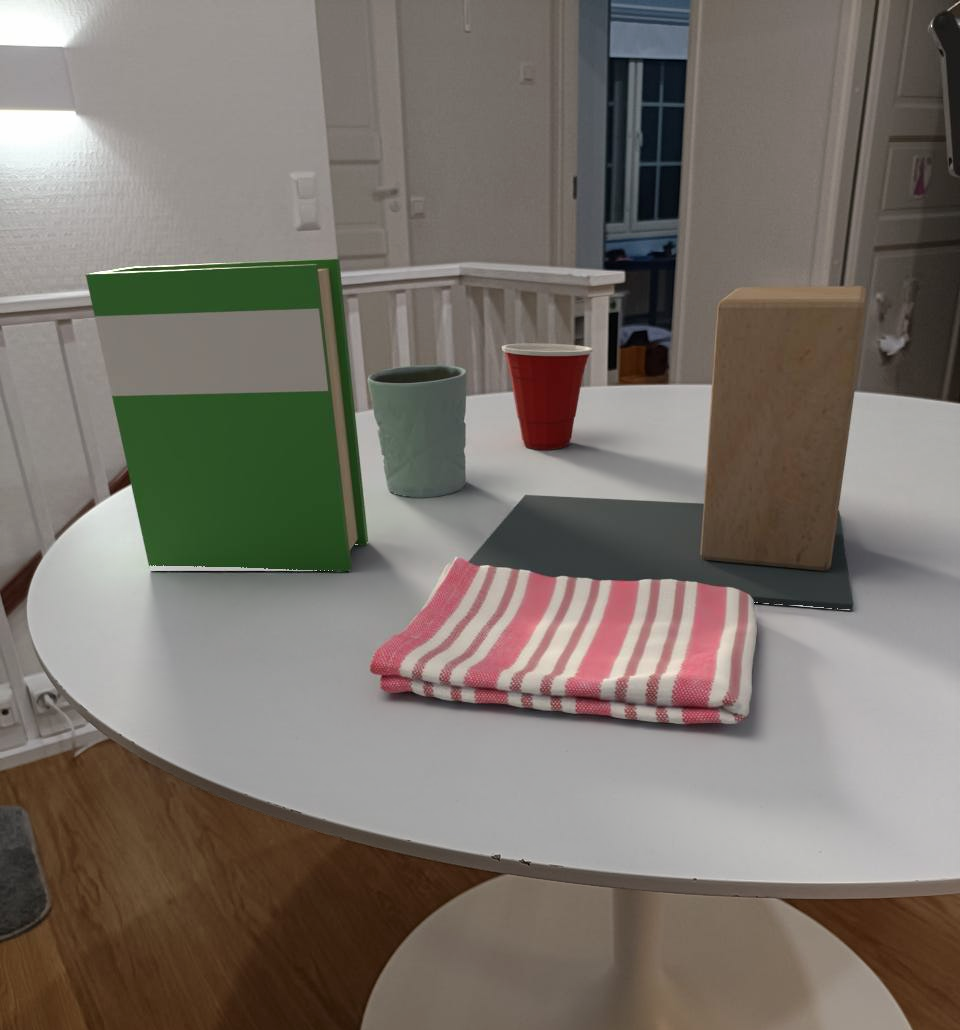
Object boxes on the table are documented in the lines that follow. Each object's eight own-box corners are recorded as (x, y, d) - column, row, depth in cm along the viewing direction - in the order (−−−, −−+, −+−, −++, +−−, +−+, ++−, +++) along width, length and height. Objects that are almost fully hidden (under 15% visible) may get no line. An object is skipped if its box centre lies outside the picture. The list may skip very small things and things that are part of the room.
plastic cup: (609, 442, 113) (612, 341, 107) (548, 460, 106) (548, 353, 101) (547, 429, 120) (546, 334, 115) (486, 445, 114) (482, 345, 108)
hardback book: (368, 541, 83) (339, 258, 73) (348, 572, 77) (313, 265, 66) (184, 542, 85) (130, 267, 75) (150, 571, 79) (85, 274, 68)
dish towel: (447, 594, 71) (445, 552, 70) (756, 615, 65) (760, 570, 64) (366, 700, 57) (361, 650, 55) (754, 740, 51) (760, 685, 49)
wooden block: (717, 522, 82) (735, 286, 73) (834, 532, 79) (868, 285, 70) (699, 561, 74) (716, 300, 65) (829, 573, 70) (867, 299, 62)
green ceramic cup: (489, 480, 100) (485, 367, 94) (434, 505, 92) (426, 385, 87) (416, 469, 105) (408, 362, 100) (358, 492, 98) (346, 378, 92)
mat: (838, 516, 84) (839, 509, 84) (852, 611, 65) (853, 604, 65) (525, 500, 93) (525, 494, 92) (457, 580, 74) (457, 574, 74)
